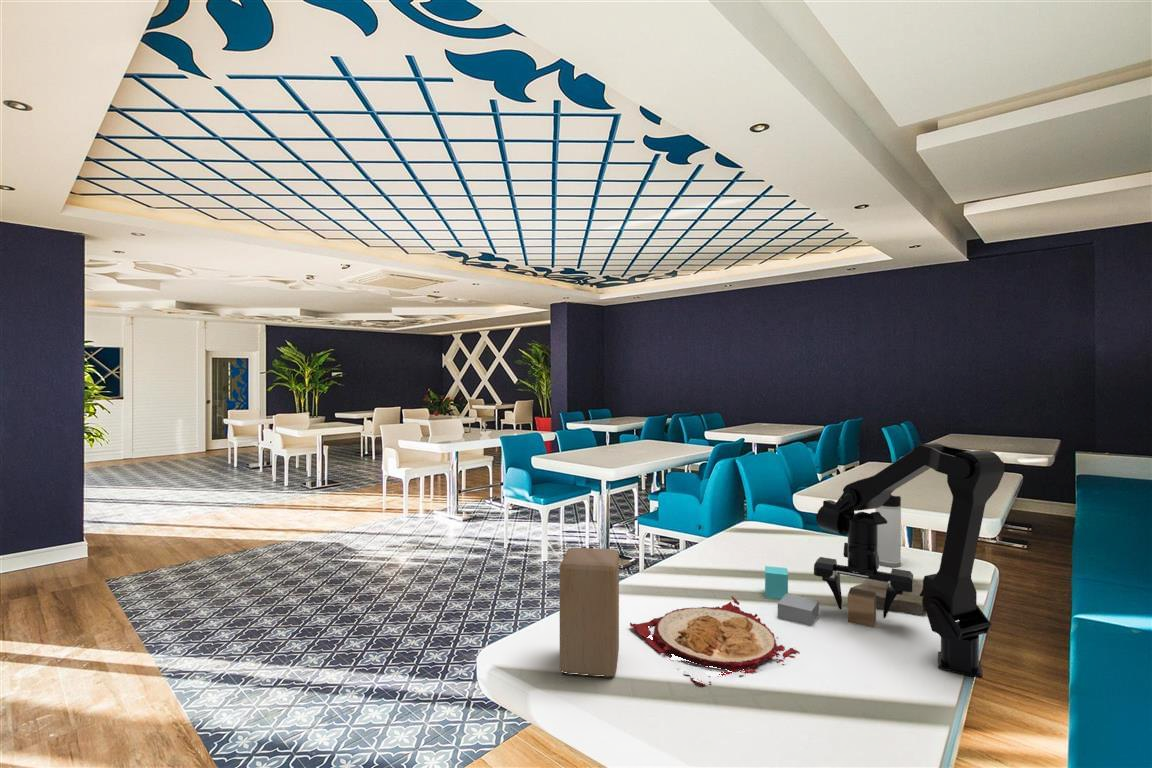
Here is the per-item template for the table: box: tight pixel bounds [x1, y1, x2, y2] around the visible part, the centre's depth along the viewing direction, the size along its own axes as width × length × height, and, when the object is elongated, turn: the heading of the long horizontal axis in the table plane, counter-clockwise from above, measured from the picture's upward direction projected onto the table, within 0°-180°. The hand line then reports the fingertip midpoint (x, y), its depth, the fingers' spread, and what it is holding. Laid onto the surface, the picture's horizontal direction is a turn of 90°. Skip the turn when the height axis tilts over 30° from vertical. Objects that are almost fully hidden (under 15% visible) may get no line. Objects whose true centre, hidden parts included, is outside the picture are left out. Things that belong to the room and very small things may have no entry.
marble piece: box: [852, 574, 925, 616], centre depth 133 cm, size 17×15×4 cm
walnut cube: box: [847, 586, 877, 629], centre depth 121 cm, size 5×5×6 cm
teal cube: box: [764, 565, 789, 600], centre depth 136 cm, size 5×5×6 cm
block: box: [559, 547, 620, 677], centre depth 103 cm, size 10×10×20 cm
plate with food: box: [629, 595, 800, 686], centre depth 112 cm, size 25×26×4 cm
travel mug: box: [874, 494, 902, 568], centre depth 158 cm, size 6×7×20 cm
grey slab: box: [777, 593, 820, 627], centre depth 124 cm, size 7×7×4 cm
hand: (862, 613), depth 121 cm, fingers open, 8 cm apart
